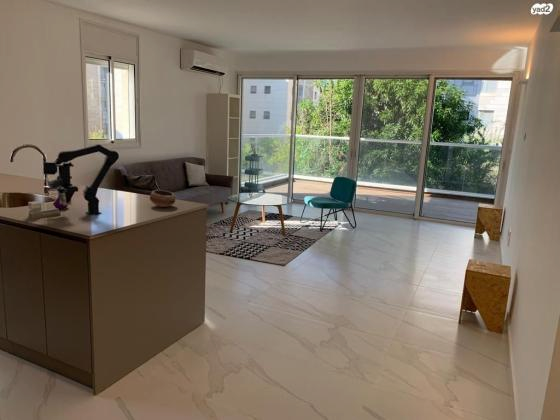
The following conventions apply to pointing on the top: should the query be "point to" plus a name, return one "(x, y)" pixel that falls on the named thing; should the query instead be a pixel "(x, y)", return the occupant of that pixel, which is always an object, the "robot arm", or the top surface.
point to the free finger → (63, 199)
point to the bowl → (162, 198)
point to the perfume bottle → (58, 205)
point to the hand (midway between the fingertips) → (65, 202)
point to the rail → (41, 211)
